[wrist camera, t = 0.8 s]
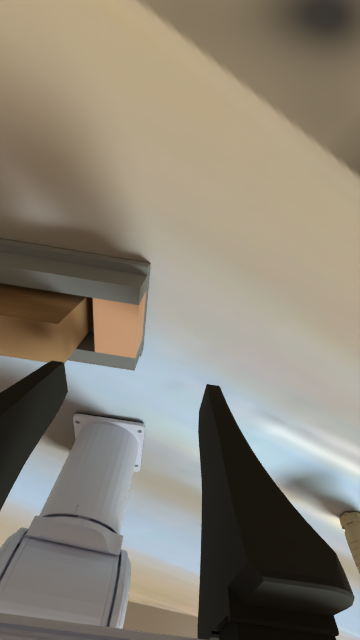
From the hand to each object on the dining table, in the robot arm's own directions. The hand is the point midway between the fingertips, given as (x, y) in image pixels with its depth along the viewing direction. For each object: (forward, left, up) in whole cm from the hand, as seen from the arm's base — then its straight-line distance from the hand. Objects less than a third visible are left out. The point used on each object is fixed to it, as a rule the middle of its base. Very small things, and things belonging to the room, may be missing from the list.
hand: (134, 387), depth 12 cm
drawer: (0, +9, -7) cm, 12 cm away
